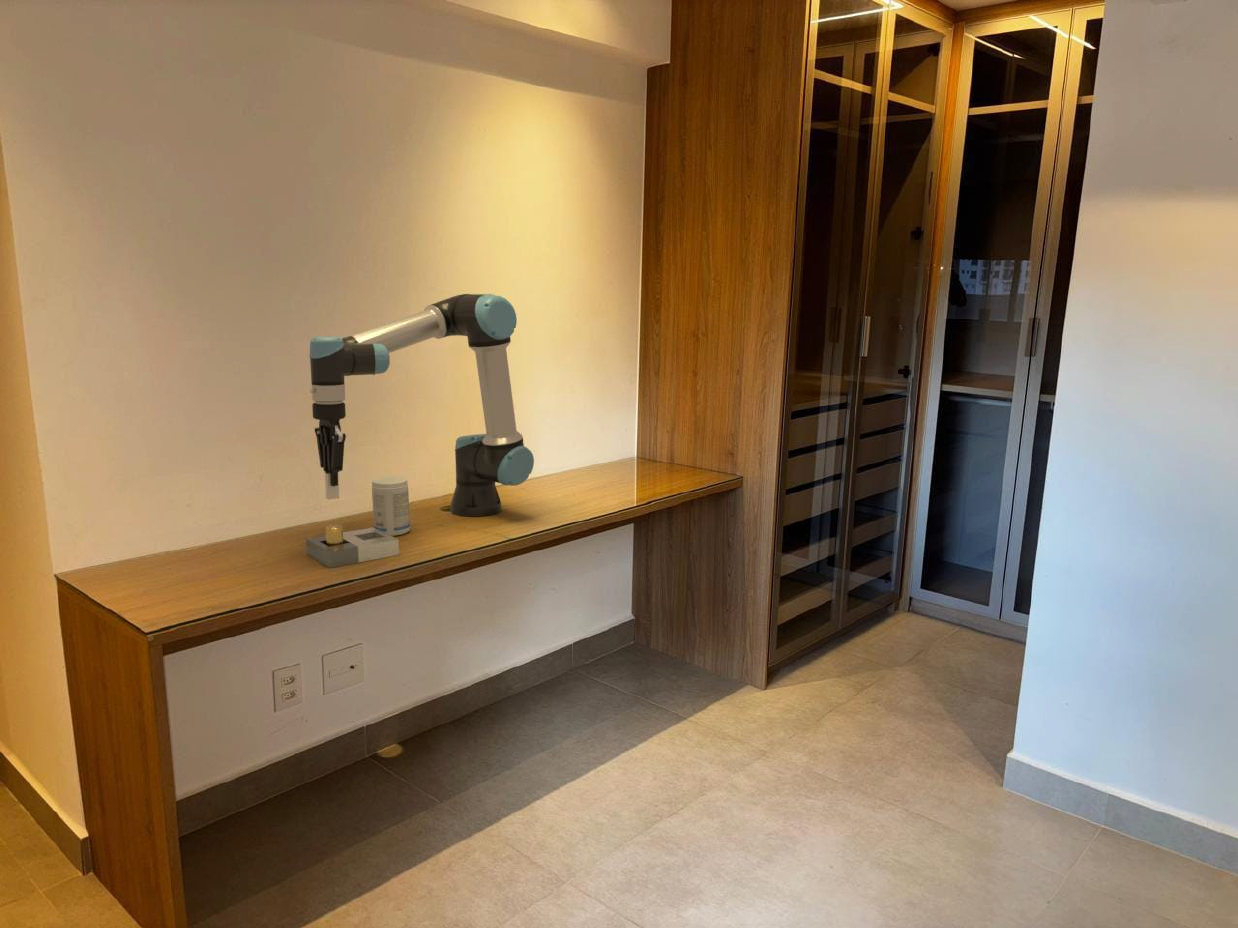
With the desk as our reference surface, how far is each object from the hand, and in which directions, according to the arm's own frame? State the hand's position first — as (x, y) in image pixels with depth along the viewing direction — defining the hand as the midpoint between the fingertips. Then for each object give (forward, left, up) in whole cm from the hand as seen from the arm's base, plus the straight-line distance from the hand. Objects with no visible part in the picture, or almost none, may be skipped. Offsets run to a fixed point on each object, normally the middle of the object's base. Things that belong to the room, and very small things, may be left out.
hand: (332, 498), depth 218 cm
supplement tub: (-22, -13, -15) cm, 30 cm away
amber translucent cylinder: (0, 0, -15) cm, 15 cm away
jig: (-5, 0, -15) cm, 16 cm away
